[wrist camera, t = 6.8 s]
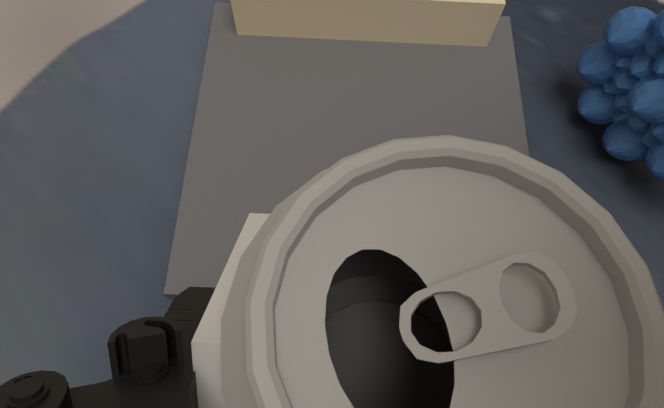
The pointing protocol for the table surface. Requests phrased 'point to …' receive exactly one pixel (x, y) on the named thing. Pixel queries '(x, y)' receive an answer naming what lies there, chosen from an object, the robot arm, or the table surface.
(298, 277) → the can
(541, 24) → the table surface
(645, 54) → the grapes
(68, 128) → the table surface
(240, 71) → the stop plate
